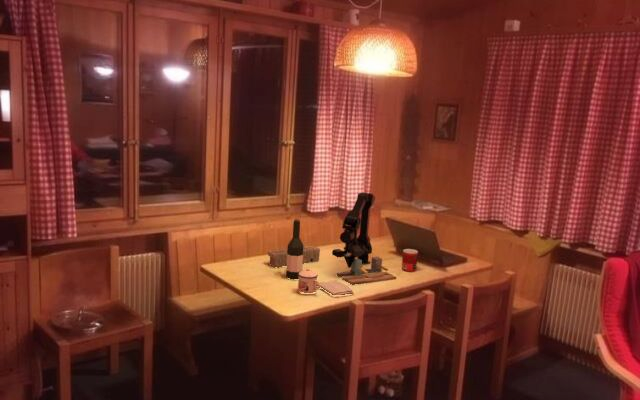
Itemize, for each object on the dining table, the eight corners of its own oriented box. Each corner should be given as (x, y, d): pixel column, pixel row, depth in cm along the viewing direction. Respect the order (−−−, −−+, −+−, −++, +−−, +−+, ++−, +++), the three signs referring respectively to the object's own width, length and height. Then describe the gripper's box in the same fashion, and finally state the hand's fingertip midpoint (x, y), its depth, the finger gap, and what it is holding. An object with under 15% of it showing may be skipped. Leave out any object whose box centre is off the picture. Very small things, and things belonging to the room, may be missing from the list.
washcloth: (334, 299, 262) (335, 293, 261) (313, 287, 276) (314, 281, 276) (355, 295, 268) (355, 289, 267) (334, 283, 283) (334, 277, 282)
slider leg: (350, 272, 299) (351, 258, 297) (356, 271, 301) (357, 258, 299) (363, 280, 288) (364, 265, 287) (369, 279, 290) (370, 265, 289)
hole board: (342, 279, 288) (342, 276, 288) (385, 273, 301) (386, 271, 301) (352, 285, 280) (352, 282, 280) (396, 279, 294) (396, 276, 293)
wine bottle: (305, 276, 289) (308, 219, 283) (297, 281, 281) (300, 222, 276) (290, 273, 292) (293, 216, 286) (282, 278, 285) (285, 219, 279)
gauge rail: (335, 275, 294) (336, 261, 293) (378, 269, 307) (379, 256, 306) (347, 282, 284) (348, 268, 282) (391, 276, 297) (392, 263, 296)
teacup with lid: (293, 291, 267) (294, 267, 265) (306, 287, 274) (307, 264, 272) (312, 298, 259) (313, 274, 257) (325, 294, 266) (326, 270, 264)
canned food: (415, 273, 306) (417, 253, 303) (400, 271, 307) (402, 251, 305) (416, 269, 313) (418, 249, 311) (401, 267, 314) (403, 248, 312)
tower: (311, 259, 322) (266, 264, 305) (312, 245, 321) (267, 249, 304) (319, 263, 316) (274, 268, 299) (320, 248, 315) (275, 253, 297)
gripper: (343, 244, 281) (341, 274, 284) (375, 241, 290) (372, 270, 293) (332, 238, 290) (330, 267, 293) (363, 235, 299) (360, 264, 302)
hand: (349, 267), depth 295 cm, fingers closed
